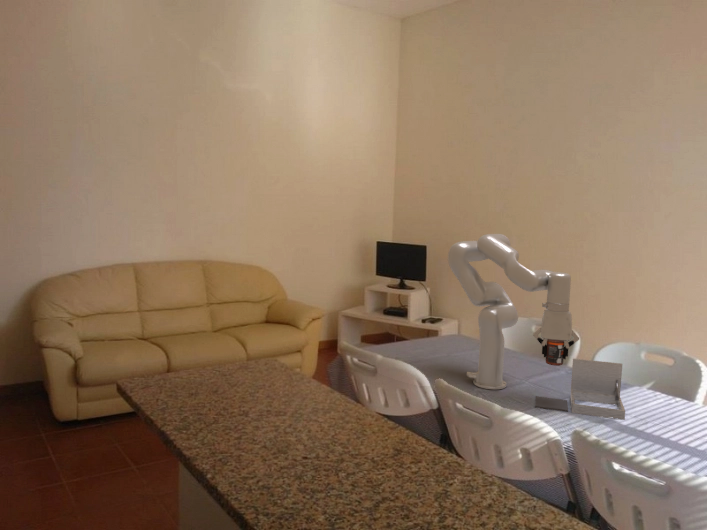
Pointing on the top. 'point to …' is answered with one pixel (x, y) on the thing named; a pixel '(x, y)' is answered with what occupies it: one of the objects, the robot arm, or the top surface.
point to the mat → (551, 403)
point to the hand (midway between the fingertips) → (554, 356)
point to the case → (596, 387)
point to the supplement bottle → (554, 352)
